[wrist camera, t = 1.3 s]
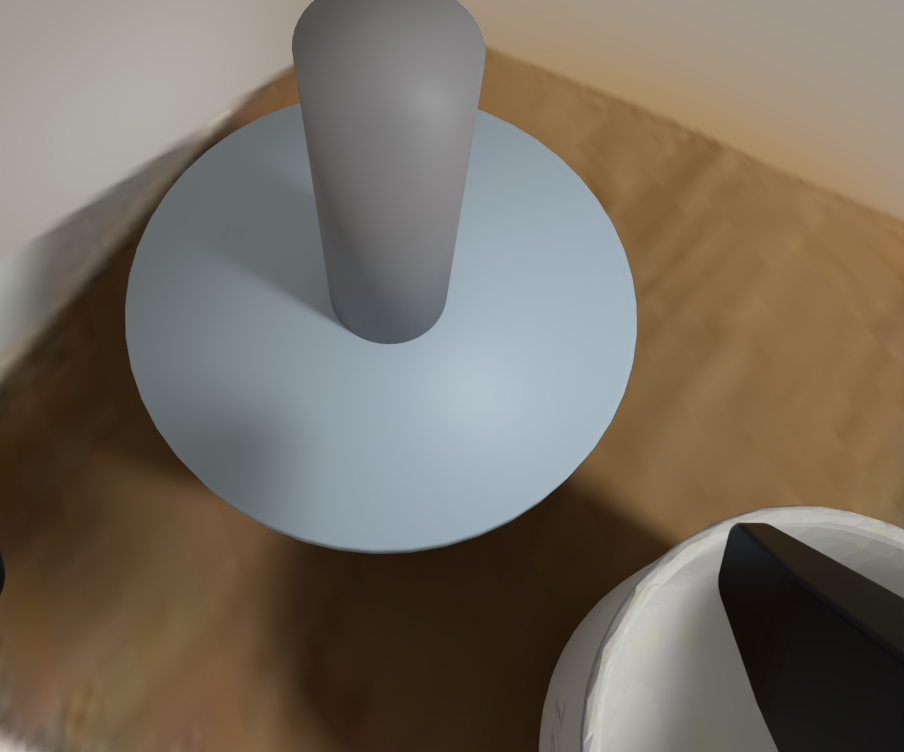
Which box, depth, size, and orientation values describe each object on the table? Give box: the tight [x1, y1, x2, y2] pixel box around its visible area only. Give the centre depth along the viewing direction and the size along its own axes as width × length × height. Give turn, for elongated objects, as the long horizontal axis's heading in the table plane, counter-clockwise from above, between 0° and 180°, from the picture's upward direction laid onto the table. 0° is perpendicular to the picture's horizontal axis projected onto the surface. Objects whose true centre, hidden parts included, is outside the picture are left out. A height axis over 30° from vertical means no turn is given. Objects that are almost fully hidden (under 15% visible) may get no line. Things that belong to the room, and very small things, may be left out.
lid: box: [125, 0, 637, 554], centre depth 16 cm, size 13×13×9 cm
